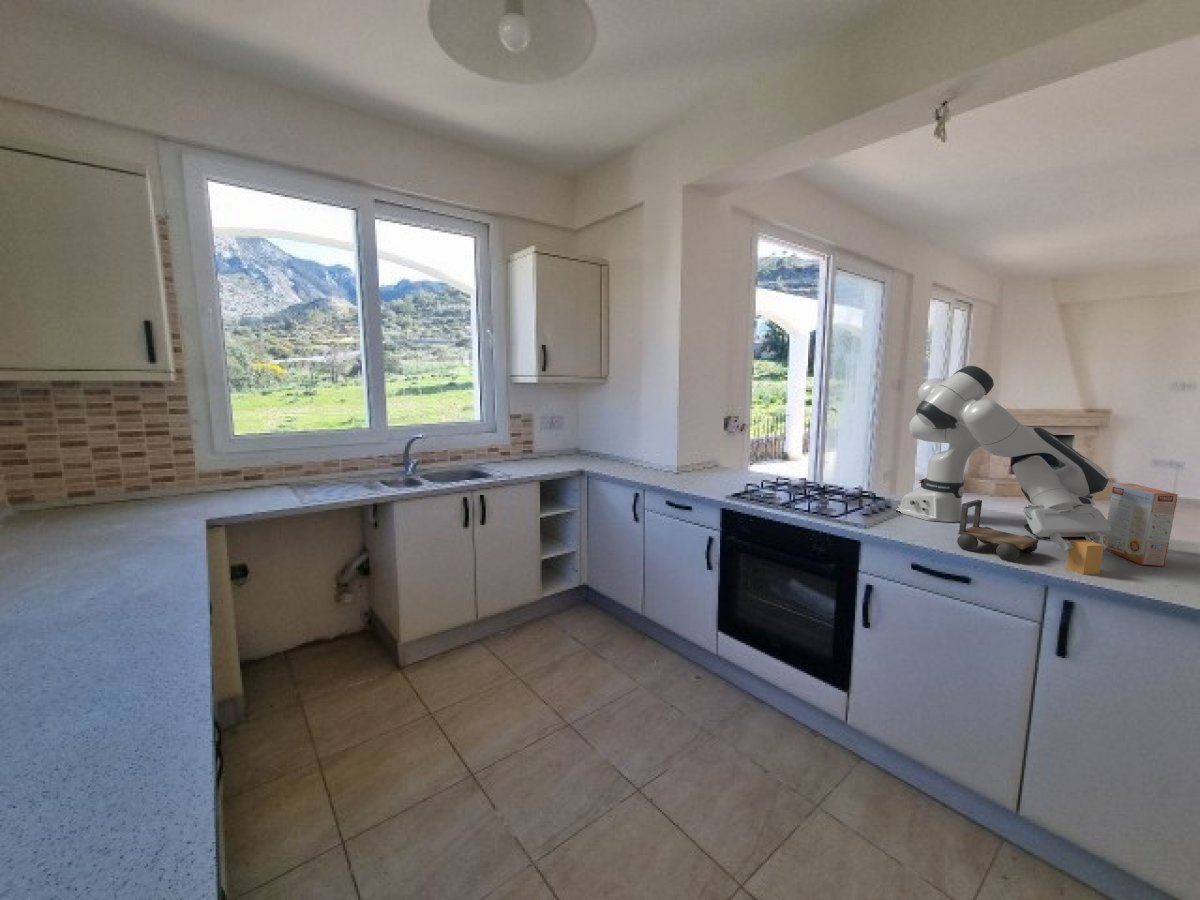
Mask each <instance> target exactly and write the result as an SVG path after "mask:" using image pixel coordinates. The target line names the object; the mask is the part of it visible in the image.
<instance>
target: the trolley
mask: <svg viewBox="0 0 1200 900" xmlns="http://www.w3.org/2000/svg"><path fill="white" fill-rule="evenodd" d="M982 504H983V500H981V499H975V500H971V501H968V502H964V503H962V511H961V520H960V523H959V530H958V535H959V536H958V537H957V540H956V542H957V545H958V546H959V548H961V549H962V550H964V551H967V552H968V551H969V552H970V551H973V550H976V549H977V548H978V546H979V541H980V542H981V543H982V542H983V543H982V544H986V543H988V544H991V543H992V544H993V543H994V544H999V545H998V546H997V547H996V550H995V551H996V555H997V557H999V558H1000V559H1001V560H1003V561H1005V560H1006V562H1012V561H1015V560H1017V559H1018V558H1019V557H1020V553H1023V552H1024V553H1023V554H1030V553H1033V552H1035V551H1037V549H1038V544H1039V538H1033V537H1032V536H1030V535H1019V534H1015V533H1010V532H1005V531H1001V530H997V529H993V528H991V527H988V526H984V527H983V526H980V521H981V515H982V514H981V513H982ZM972 507H974V514H973V521H972V522H973V523H972V526H971V527H967V522H968V512H969V509H970V508H972Z"/></svg>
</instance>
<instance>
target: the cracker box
mask: <svg viewBox="0 0 1200 900" xmlns="http://www.w3.org/2000/svg"><path fill="white" fill-rule="evenodd" d="M1178 495H1179V494H1178V493H1173V492H1169V491H1165V490H1160V489H1156V488H1153V487H1149V486H1145V485H1139V484H1135V483H1122V482H1119V483H1117V482H1115V483H1113V484H1112V489H1111V495H1110V500H1109V501H1110V502H1109V508H1108V513H1107V514H1108V515H1107V518H1106V520H1107V521H1108V522H1109V524H1110V526H1111V531H1110V532H1109V533H1107V534H1105V535H1104V536H1103V543H1104V545H1105V546H1106V549H1104V550H1105V551H1107V552H1110V553H1111V554H1114V555H1117V556H1120V557H1122V558H1124V559H1126V560H1129V561H1131V562H1134V563H1136V564H1138V565H1141V566H1150V565H1151V566H1152V567H1165V566H1166V561H1167V554H1168V550H1169V545H1170V539H1171V533H1172V529H1173V524H1174V517H1175V512H1176V507H1177V503H1178V502H1177V501H1178V497H1179V496H1178ZM1104 550H1103V551H1104ZM1151 566H1150V567H1151Z"/></svg>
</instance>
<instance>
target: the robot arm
mask: <svg viewBox="0 0 1200 900" xmlns="http://www.w3.org/2000/svg"><path fill="white" fill-rule="evenodd" d="M994 384H995V383H994V379H993V377H992V376H991V375H990V374H989V373H988V372H987V370H985V369H983V368H981V367H979V366H977V365H966V366H964V367H962V368H960V369H959V370H956V372H954V373H953V375H951V376H949V377H947V379H943V378H938V377H937V378H936V377H934V378H930V379H927V380H925V381H924V382H923V383H921V385H920V386H919V388H918V390H917V391H918V392H917V398H918V405H917V407H916V409H915V413H916V414H915V415H914V416H913V417H912V418H911V420H910V421H909V424H908V430H909V433H910V435H911V436H912V438H914V439H916V440H920V441H924V442H929V443H931V442H932V443H938V444H939V443H942V444H948V445H949V446H948V449H947V450H945V451H940V452H937V453H936V454H933V455H931V456H930V458H929V459H928V461H927V462H928V463H927V471H926V472H927V474H926V477H925V478H921V480H918V481H919V482H918V484H920V487H918V488H915V489H914V490H912V491H910V492H908V493H906V494H904V495H903V497H902V499H901V500H900V504H899V505H897V506H898V507H899V508H897V509H896V510H898V511H900V512H901V513H900V514H903V515H906V516H910V517H914V518H916V519H917V518H918V519H921V520H925V521H929V522H945V523H946V522H947V523H948V522H949V523H959V522H960V520H961V511H962V504H963V503H962V500H963V499H962V498H963V494H964V491H965V490H964V489H965V482H964V473H965V470H966V464H967V461H968V460H969V457H970V456H971V455H972V454H973V453H974V452H975V450H977V449H978V448H980V447H982V448H983V449H984V450H986V451H987V452H988V454H991V455H994V456H996V457H1001V458H1015V457H1020V456H1024V455H1025V456H1026V455H1030V456H1027V457H1025V458H1022V459H1020V460H1018V461H1016V462H1015V463H1014V464H1013V465H1012V466H1011V468H1012V472H1013V473H1014V476H1015V478H1016V480H1017V482H1018V483H1019V485H1020V490H1021V492H1022V493H1023V495H1024V497H1025V498H1026V500H1027V501H1028V502H1029V503H1030V504H1028V505H1025V506H1024V507H1023V510H1022V511H1023V513H1024V515H1025V519H1026V522H1027V524H1029V526H1030V528H1031V530H1032V532H1033V533H1034V534H1035V535H1036V536H1038V537H1050V540H1051V541H1052V542H1054V543H1055V544H1056V545H1058V546H1059V547H1060V549H1061V550H1062V551H1063V552H1065V551H1066V552H1068V551H1070V550H1072V549H1073V547H1072V546H1071V544H1070V541H1068V542H1067V540H1064V539H1062V538H1061V537H1075V536H1086V537H1089V538H1090V539H1091V540H1093V542H1095V543H1098V544H1101V545H1104V536H1105V534H1107V533H1109V532H1110V531H1111V526H1110V524H1109V522H1108V521H1107V518H1106V516H1104V514H1103V513H1102V512H1101V510H1099V509H1098V508H1097V507H1095V502H1094V500H1093V499H1092V500H1091V499H1089V498H1085V497H1083V496H1086V495H1093V494H1096V493H1101V492H1103V491H1104V490H1105V489H1106V487H1107V485H1108V482H1109V480H1110V479H1109V478H1108V474H1107V473H1106V471H1105V470H1104V469H1103V468H1102V467H1101V466H1099V464H1097V463H1095V462H1093V461H1092V460H1090V459H1088V458H1087V457H1086V456H1083V455H1082V454H1081V453H1079V452H1078V451H1076V450H1075V449H1073V448H1072V447H1071V446H1070V445H1068V444H1067V443H1065V442H1064V441H1063V440H1061V439H1060V438H1058V437H1057V436H1056V435H1054V434H1053V433H1051V432H1050V431H1048V430H1046V429H1044V428H1042V427H1030V426H1027V425H1024V424H1022V423H1020V422H1019V421H1018V420H1017V419H1016V418H1015V417H1014V416H1013V415H1012V414H1011V413H1010V412H1009V411H1008V410H1007V409H1006V408H1004V407H1003V406H1002V405H1000V404H999V403H997V402H996V401H994V400H993V399H986V398H984V399H983V397H984V396H986V395H987V396H988V394H989V393H990V392H991V390H992V389H993V388H994ZM1031 454H1049V455H1052V456H1053V457H1054V458H1056V459H1057V460H1058V461H1060V462H1061V463H1063V464H1064V465H1063V466H1062V467H1060V468H1057V469H1055V470H1054V469H1053V467H1051V465H1050V464H1049V463H1048V462H1047V461H1046V460H1045V458H1043V457H1042V456H1041V455H1031ZM1036 536H1035V537H1036ZM1104 549H1106V546H1105V545H1104V548H1103V551H1104Z"/></svg>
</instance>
